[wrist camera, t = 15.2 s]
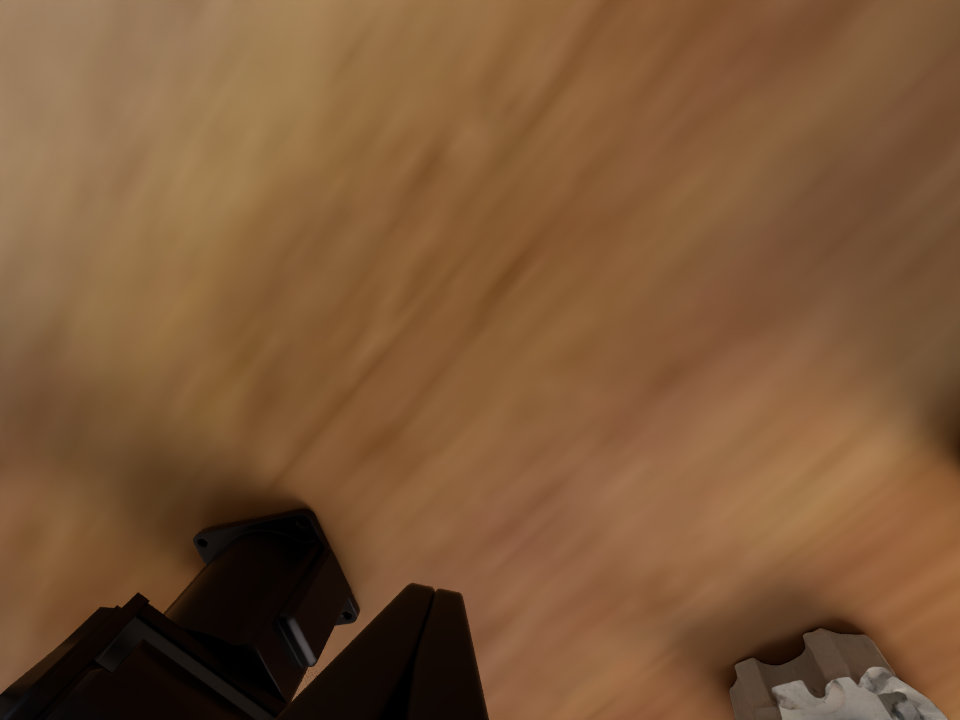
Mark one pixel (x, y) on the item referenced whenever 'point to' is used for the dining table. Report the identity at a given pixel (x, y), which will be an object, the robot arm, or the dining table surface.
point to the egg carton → (828, 685)
